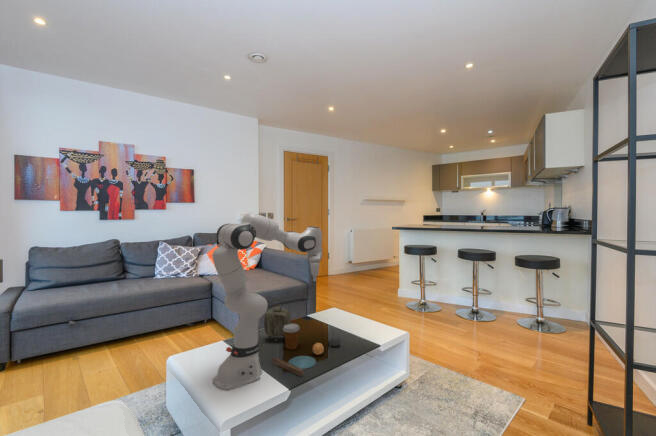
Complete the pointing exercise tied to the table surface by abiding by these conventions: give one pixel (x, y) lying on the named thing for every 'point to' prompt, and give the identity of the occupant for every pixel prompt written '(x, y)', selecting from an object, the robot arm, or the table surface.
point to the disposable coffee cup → (291, 335)
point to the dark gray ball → (334, 340)
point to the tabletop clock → (276, 320)
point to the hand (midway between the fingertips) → (314, 277)
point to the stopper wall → (288, 367)
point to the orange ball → (318, 348)
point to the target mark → (302, 362)
